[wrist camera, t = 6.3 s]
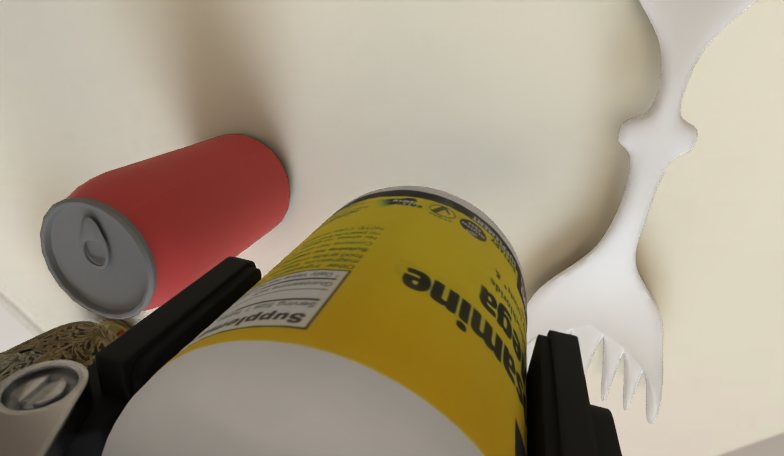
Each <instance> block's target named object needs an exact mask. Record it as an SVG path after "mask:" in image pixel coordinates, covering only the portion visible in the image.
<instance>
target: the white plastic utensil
mask: <svg viewBox="0 0 784 456" xmlns="http://www.w3.org/2000/svg"><path fill="white" fill-rule="evenodd" d="M639 1H640V3H641V5H642V7H643V9H644V10H645V12H646V14H647V16H648V18H649V20H650V21H651V23H652V26H653V28H654V30H655V32H656V35H657V38H658V40H659V45H660V49H661V60H662V63H661V77H660V83H659V88H658V92H657V96H656V99H655V101H654V103H653V105H652V107H651V108H650V109H649V111H648V112H646V113H645V114H643V115H641V116H638V117H635V118H631V119H629V120H627V121H625V122H624V123H623V125H622V126H621V129H620V131H619V136H618V138H619V143H620V144H621V145H622V146H623V147H625V148H626V149H627V151H628V153H629V156H630V170H629V176H628V180H627V184H626V188H625V191H624V195H623V198H622V200H621V203H620V206H619V208H618V211H617V213H616V215H615V217H614V219H613V221H612V223H611V225H610V227H609V228H608V230H607V231H606V233H605V235H604V236H603V238H602V239H601V240H600V241H599V243H598V244H597V245H596V246H595V247H594V248H593V249H592V250H591V251H590V252H589V253H588V254H587V255H585V256H584V257H583V258H582V259H580V260H579V261H577V262H576V263H575V264H573V265H572V266H570V267H569V268H567V269H565V270H564V271H562V272H561V273H559V274H558V275H556V276H555V277H553V278H552V279H550V280H549V281H548V282H546V283H545V284H544V285H543V286H542V287H540V288H539V289H538V290H537V291H536V292H535V294H534V295H533V296H532V298H531V299H530V300H529V302H528V304H527V371H528V367H529V364H530V360H531V356H532V353H533V349H534V346H535V342H536V339H537V336H538V334H540V335H544V336H547V334H548V332H549V330H553V331H557V332H562V333H566V334H569V333H570V332H571V335H575V336H577V337H578V341H579V346H580V352H581V357H582V363H583V369H584V374H586V372H587V370H588V367H589V365H590V362H591V360H592V357H593V355H594V353H595V350H596V348H597V346H598V344H599V342H600V341H601V339H602V338H603V340H604V351H603V368H602V381H601V399H602V401H604V400H605V399H606V397H607V394H608V392H609V389H610V386H611V383H612V380H613V378H614V375H615V372H616V369H617V366H618V363H619V361H620V358H621V356H622V355H623V354H624V386H623V408H624V410H626V409H627V408H628V406H629V404H630V402H631V399H632V397H633V394H634V392H635V389H636V387H637V384H638V382H639V380H640V378H641V375H642V374H643V373H645V379H646V417H647V421H648V423H649V424H653V422H654V421H655V419H656V417H657V414H658V411H659V406H660V401H661V393H662V385H663V325H662V320H661V316H660V313H659V310H658V308H657V306H656V304H655V302H654V300H653V298H652V297H651V295H650V293H649V291H648V290H647V288H646V286H645V285H644V283H643V281H642V279H641V277H640V275H639V273H638V270H637V266H636V249H637V244H638V241H639V238H640V235H641V232H642V229H643V226H644V223H645V221H646V218H647V215H648V212H649V209H650V206H651V204H652V201H653V198H654V195H655V193H656V190H657V187H658V185H659V182H660V180H661V178H662V176H663V174H664V171H665V170H666V168H667V167H668V166H669V164H670V163H671V162H672V161H673V160H674V159H675V158H677V157H678V156H680V155H682V154H685V153H687V152H689V151H690V150H691V149H692V148H693V147H694V145H695V142H696V140H697V136H698V133H697V129H696V128H695V127H694V126H693V125H691V124H689V123H688V122H686V121H685V120H684V119H683V118H682V117H681V113H680V108H681V101H682V98H683V94H684V91H685V88H686V85H687V82H688V80H689V77H690V75H691V73H692V71H693V68H694V66H695V64H696V63H697V61H698V59H699V57H700V55H701V54H702V52H703V51H704V50H705V48H706V47H707V45H708V44H709V43H710V42H711V41H712V40H713V39H714V37H715V36H716V35H718V34H719V33H720V32H721V31H722V30H723V29H724V28H725V27H726V26H727V25H728V24H730V23H731V22H732V21H733V20H734V19H735V18H736V17H738V16H739V15H740V14H741V13H742V12H744V11H745V10H746V9H747V8H748V7H749V6H751V5H752V4H753V3H754V2H755V1H756V0H639Z"/></svg>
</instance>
